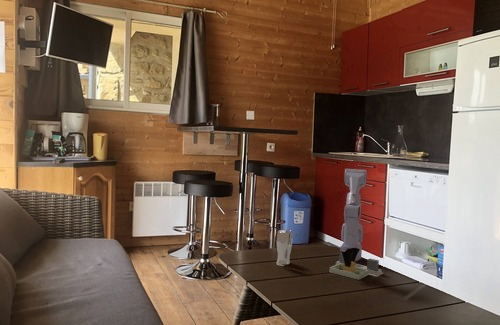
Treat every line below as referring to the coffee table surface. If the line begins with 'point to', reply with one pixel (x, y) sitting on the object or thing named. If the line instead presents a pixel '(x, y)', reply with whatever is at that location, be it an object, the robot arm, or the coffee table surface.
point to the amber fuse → (351, 268)
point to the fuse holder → (371, 272)
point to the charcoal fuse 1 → (341, 258)
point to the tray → (336, 270)
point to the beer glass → (284, 246)
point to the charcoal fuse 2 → (372, 264)
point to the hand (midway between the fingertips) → (349, 265)
